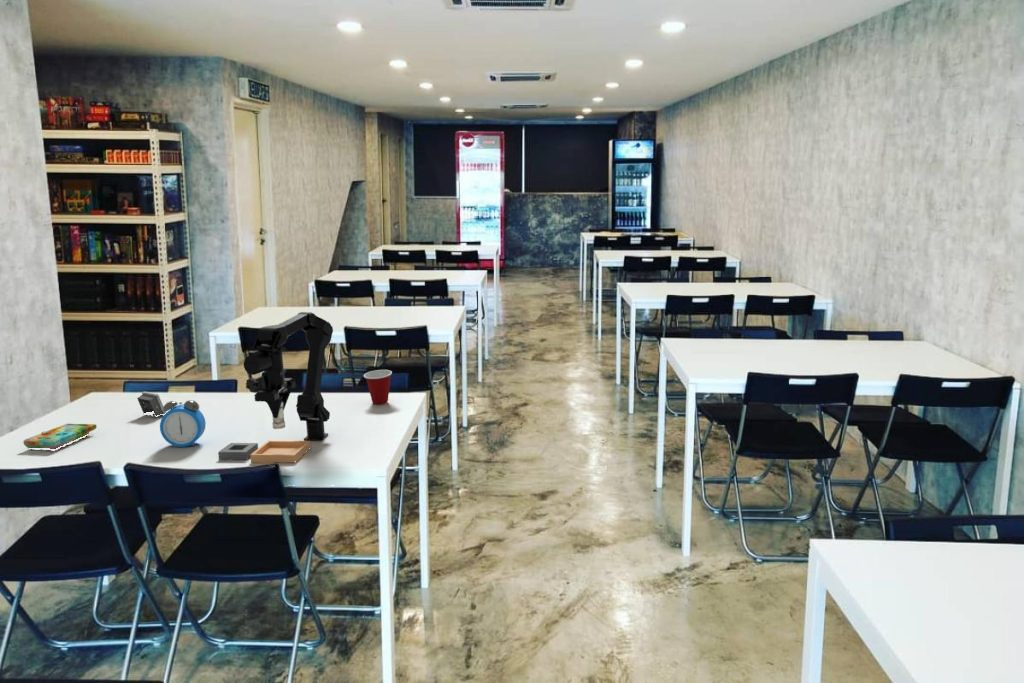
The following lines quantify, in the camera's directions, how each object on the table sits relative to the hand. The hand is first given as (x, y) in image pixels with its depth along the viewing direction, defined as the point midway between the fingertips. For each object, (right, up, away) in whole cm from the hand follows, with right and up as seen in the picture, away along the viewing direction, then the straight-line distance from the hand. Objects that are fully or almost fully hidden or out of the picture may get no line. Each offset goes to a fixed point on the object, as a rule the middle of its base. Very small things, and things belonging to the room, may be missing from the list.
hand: (278, 416), depth 258 cm
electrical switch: (-62, -5, +53) cm, 81 cm away
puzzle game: (-80, -11, +23) cm, 84 cm away
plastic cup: (+22, -1, +61) cm, 65 cm away
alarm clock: (-35, -11, +16) cm, 40 cm away
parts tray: (0, -12, +2) cm, 13 cm away
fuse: (0, -3, +1) cm, 4 cm away
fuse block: (-13, -13, +4) cm, 19 cm away
